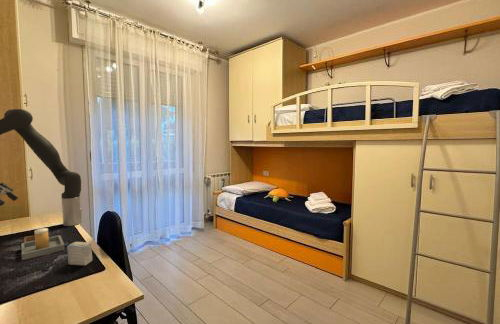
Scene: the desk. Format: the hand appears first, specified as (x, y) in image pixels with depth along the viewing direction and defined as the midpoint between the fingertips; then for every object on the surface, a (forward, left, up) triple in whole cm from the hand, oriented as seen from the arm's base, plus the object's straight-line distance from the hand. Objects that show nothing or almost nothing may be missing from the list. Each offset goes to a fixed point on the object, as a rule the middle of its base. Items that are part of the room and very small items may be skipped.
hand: (10, 201), depth 112 cm
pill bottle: (-10, +6, -24) cm, 26 cm away
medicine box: (-21, +33, -25) cm, 46 cm away
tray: (-10, +6, -24) cm, 27 cm away
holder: (-8, -8, -24) cm, 27 cm away
